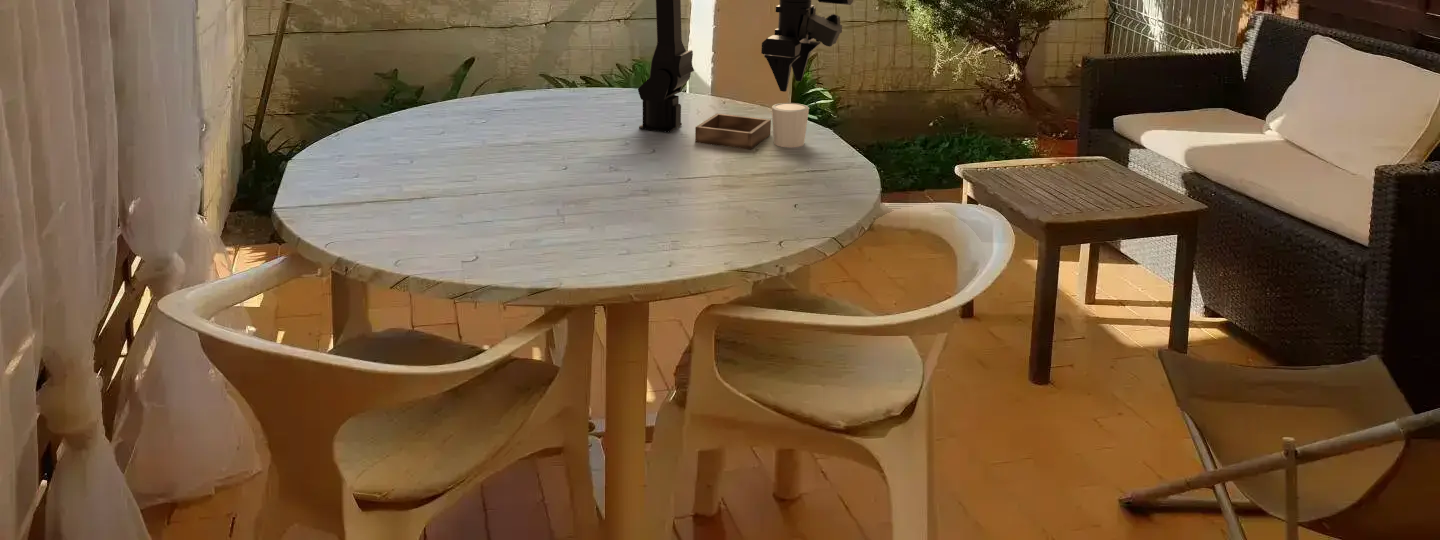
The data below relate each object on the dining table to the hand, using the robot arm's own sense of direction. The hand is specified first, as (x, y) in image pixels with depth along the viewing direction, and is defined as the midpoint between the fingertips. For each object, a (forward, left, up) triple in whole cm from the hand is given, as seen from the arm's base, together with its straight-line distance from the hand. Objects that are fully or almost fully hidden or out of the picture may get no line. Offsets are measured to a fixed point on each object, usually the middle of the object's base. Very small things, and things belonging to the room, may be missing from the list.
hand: (791, 86), depth 231 cm
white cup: (0, 0, -11) cm, 11 cm away
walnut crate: (-10, -2, -11) cm, 15 cm away
